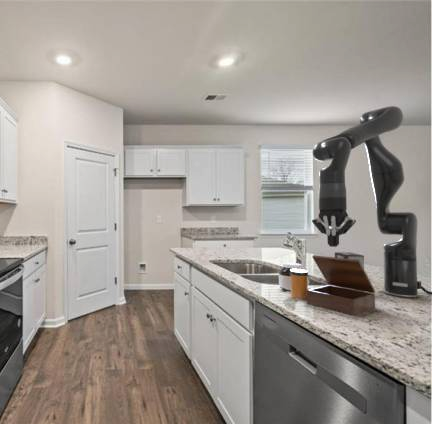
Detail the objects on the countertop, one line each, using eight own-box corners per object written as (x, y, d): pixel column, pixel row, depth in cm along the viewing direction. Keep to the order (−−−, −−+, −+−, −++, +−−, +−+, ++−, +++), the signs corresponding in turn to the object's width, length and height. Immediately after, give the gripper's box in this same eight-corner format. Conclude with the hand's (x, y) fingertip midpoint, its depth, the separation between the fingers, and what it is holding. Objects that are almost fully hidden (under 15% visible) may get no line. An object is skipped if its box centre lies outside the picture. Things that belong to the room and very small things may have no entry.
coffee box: (334, 288, 122) (333, 251, 122) (351, 289, 121) (350, 252, 121) (347, 294, 113) (346, 254, 113) (365, 295, 112) (364, 255, 112)
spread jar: (280, 292, 116) (280, 264, 117) (276, 286, 127) (275, 260, 127) (315, 295, 112) (314, 266, 112) (307, 288, 122) (306, 262, 123)
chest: (353, 318, 87) (353, 300, 87) (307, 306, 99) (306, 289, 99) (375, 310, 93) (374, 293, 93) (328, 300, 106) (328, 284, 106)
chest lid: (358, 262, 89) (359, 260, 89) (312, 256, 101) (313, 254, 101) (374, 293, 93) (375, 291, 94) (328, 284, 105) (329, 282, 106)
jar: (295, 296, 111) (295, 268, 111) (311, 299, 106) (311, 271, 106) (287, 298, 109) (286, 270, 109) (302, 302, 103) (302, 272, 104)
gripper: (361, 195, 92) (362, 247, 92) (318, 198, 104) (319, 244, 104) (348, 195, 89) (349, 249, 89) (305, 197, 101) (306, 245, 101)
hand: (333, 246), depth 96 cm, fingers closed
